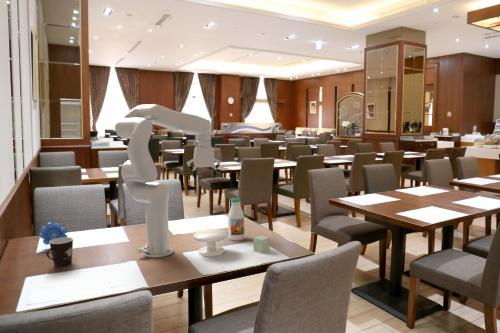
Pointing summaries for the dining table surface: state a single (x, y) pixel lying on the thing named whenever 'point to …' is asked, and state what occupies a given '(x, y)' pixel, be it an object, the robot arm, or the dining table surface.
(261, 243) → the block
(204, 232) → the cake stand
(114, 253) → the dining table surface
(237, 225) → the milk bottle
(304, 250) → the dining table surface
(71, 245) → the coffee mug
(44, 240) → the grapes
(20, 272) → the dining table surface
